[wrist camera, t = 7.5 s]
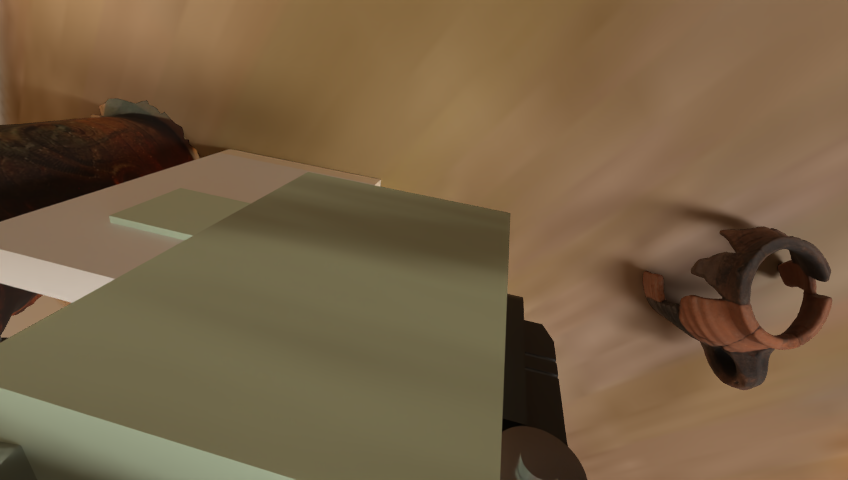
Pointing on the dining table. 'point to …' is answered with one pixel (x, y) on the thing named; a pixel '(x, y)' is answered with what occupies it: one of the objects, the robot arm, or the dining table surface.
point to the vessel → (81, 164)
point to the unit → (136, 221)
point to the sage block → (280, 349)
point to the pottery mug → (746, 304)
